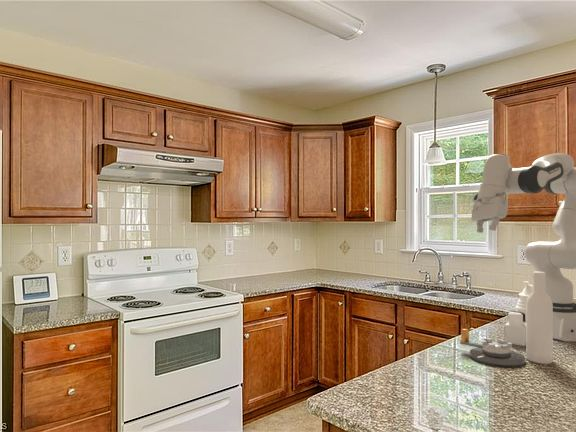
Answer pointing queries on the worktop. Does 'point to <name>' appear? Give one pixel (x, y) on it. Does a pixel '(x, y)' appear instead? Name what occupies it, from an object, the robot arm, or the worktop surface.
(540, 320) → the bottle
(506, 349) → the crank handle dial
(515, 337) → the medicine bottle
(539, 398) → the worktop surface
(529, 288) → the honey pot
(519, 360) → the flange
